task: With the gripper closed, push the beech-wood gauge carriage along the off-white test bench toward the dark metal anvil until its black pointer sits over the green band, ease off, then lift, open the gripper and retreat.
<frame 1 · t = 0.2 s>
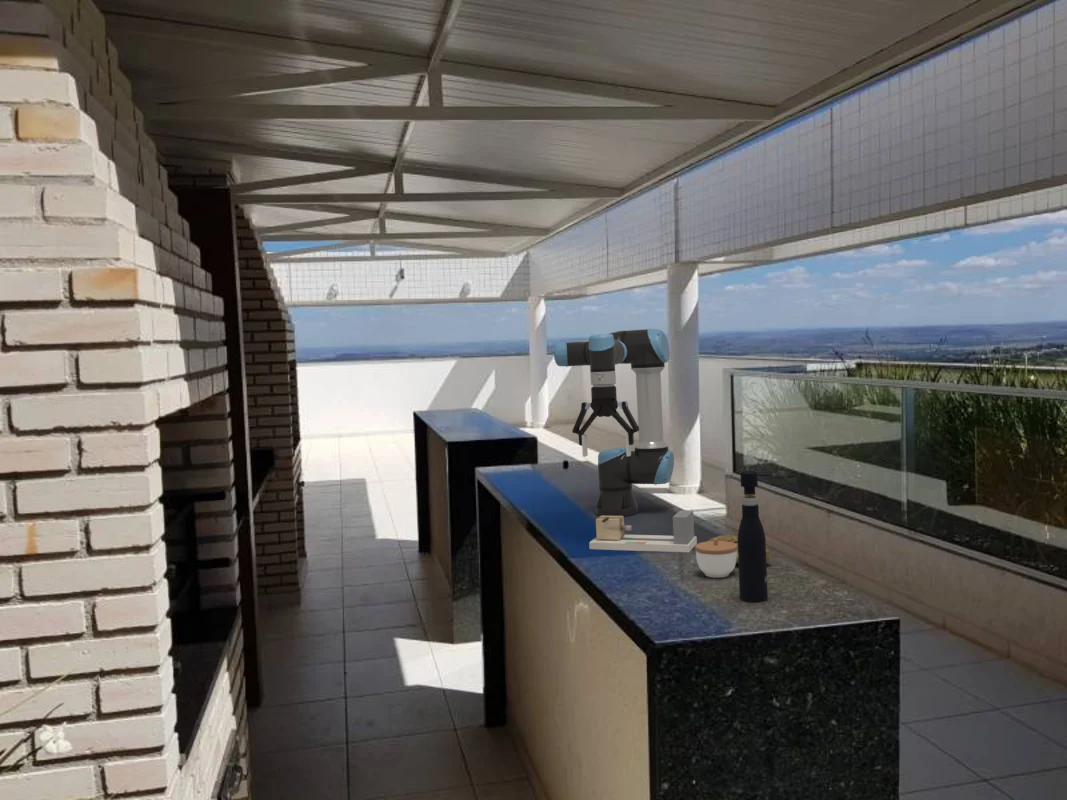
hand: (606, 456, 280), 27 cm above the countertop, fingers open, 13 cm apart
gauge carriage: (613, 528, 279), point 6 cm above the countertop, slide at 0.0 cm
lidded jar: (717, 575, 242), on the countertop
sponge: (737, 561, 255), on the countertop
wine bottle: (753, 599, 219), on the countertop
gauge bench: (643, 546, 278), on the countertop
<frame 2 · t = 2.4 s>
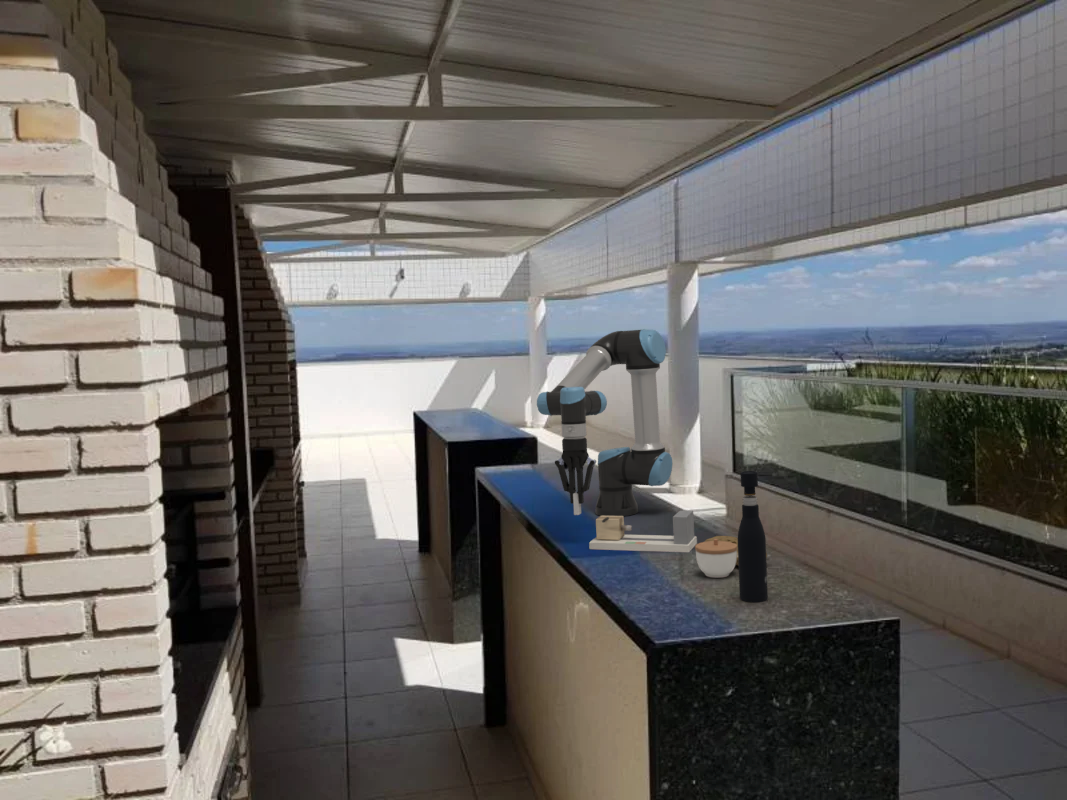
hand: (577, 514, 285), 9 cm above the countertop, fingers closed
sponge: (734, 562, 255), on the countertop
everything else where it was.
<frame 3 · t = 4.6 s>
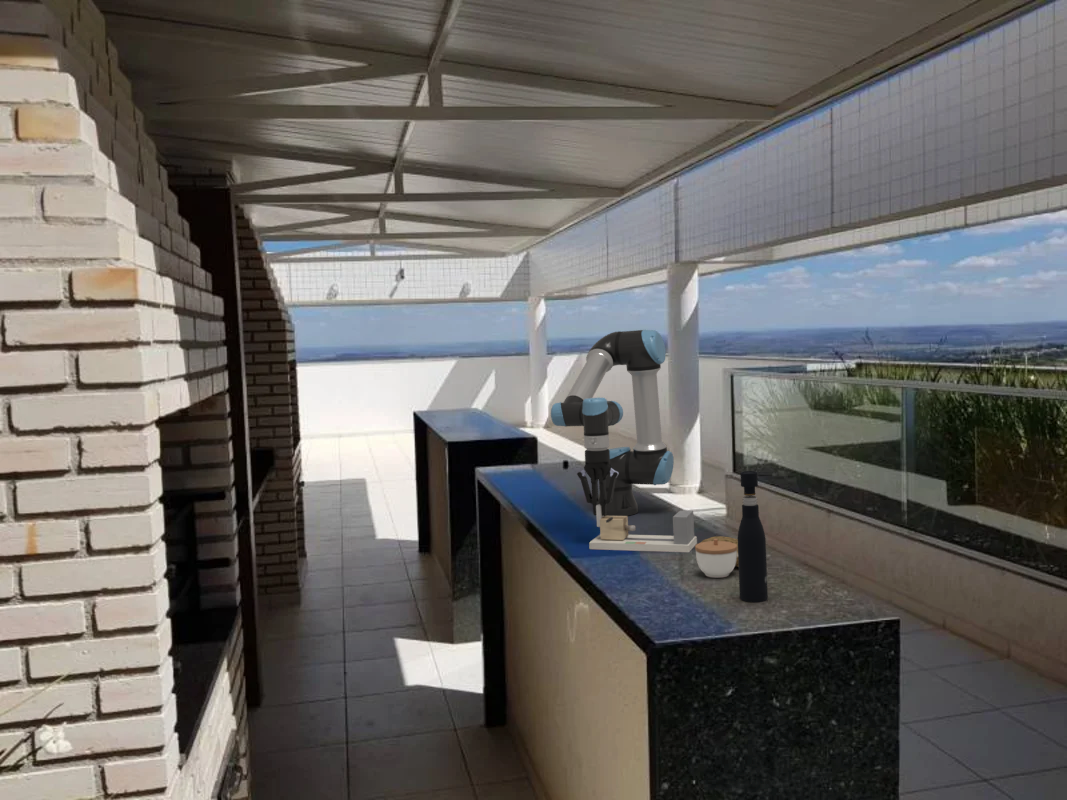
hand: (600, 525, 282), 6 cm above the countertop, fingers closed
gauge carriage: (617, 528, 279), point 6 cm above the countertop, slide at 1.2 cm, touching gripper
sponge: (730, 562, 254), on the countertop
everything else where it was.
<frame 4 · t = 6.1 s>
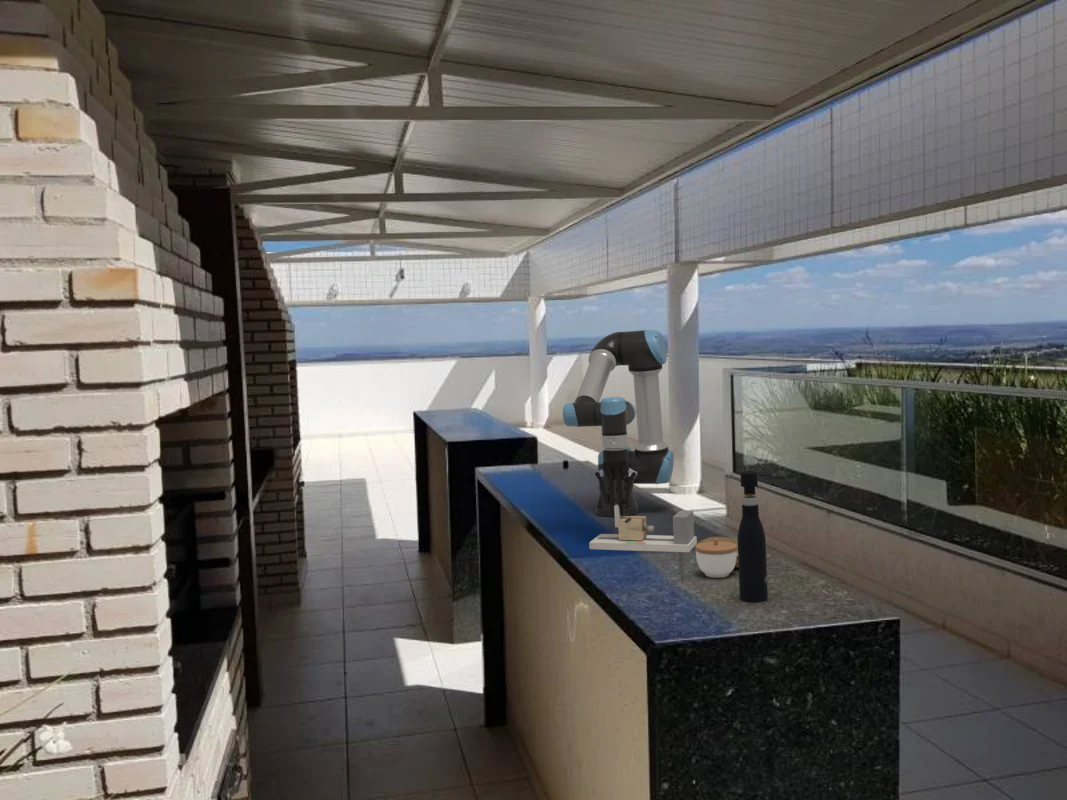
hand: (618, 526, 280), 6 cm above the countertop, fingers closed
gauge carriage: (635, 528, 277), point 6 cm above the countertop, slide at 6.9 cm, touching gripper
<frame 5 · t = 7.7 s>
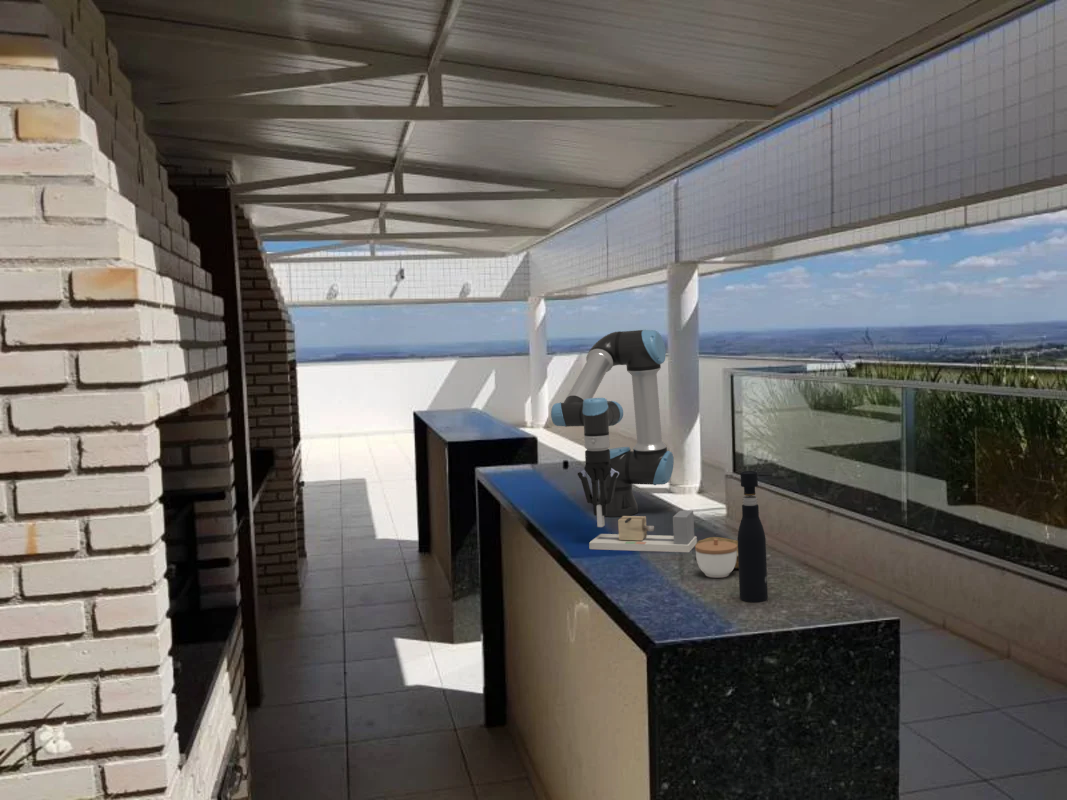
hand: (601, 526, 283), 6 cm above the countertop, fingers closed
gauge carriage: (635, 528, 277), point 6 cm above the countertop, slide at 7.0 cm
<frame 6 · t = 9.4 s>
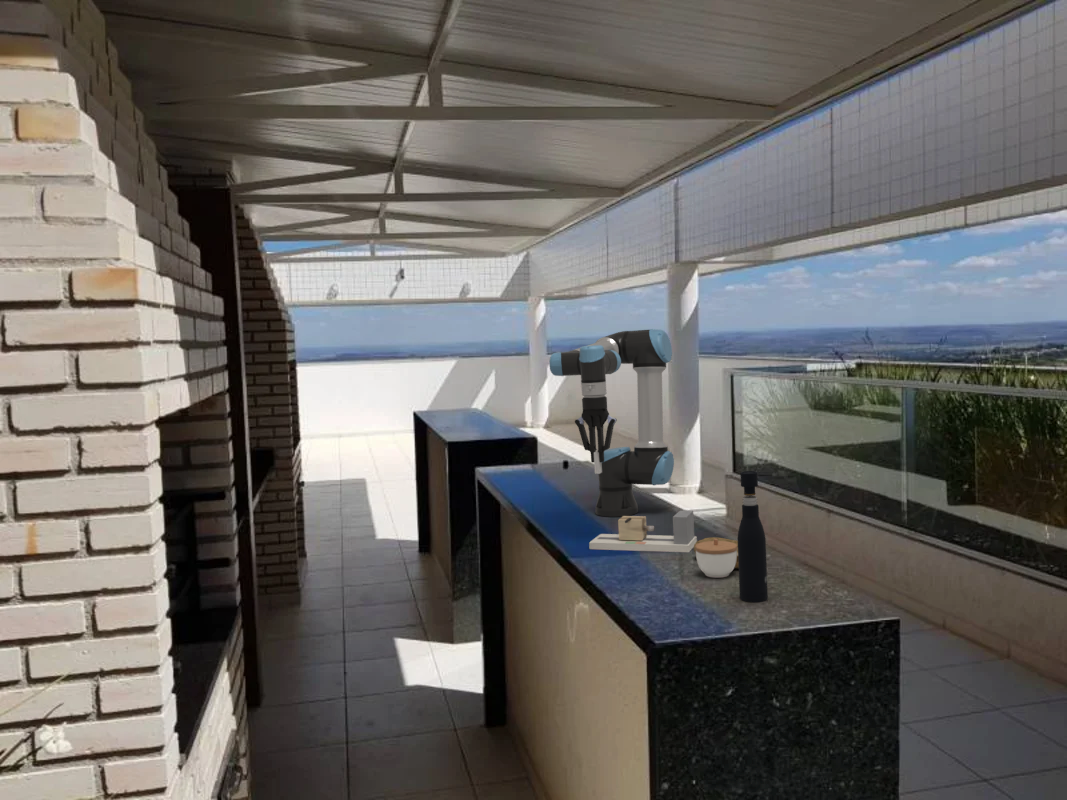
hand: (598, 472, 284), 22 cm above the countertop, fingers closed
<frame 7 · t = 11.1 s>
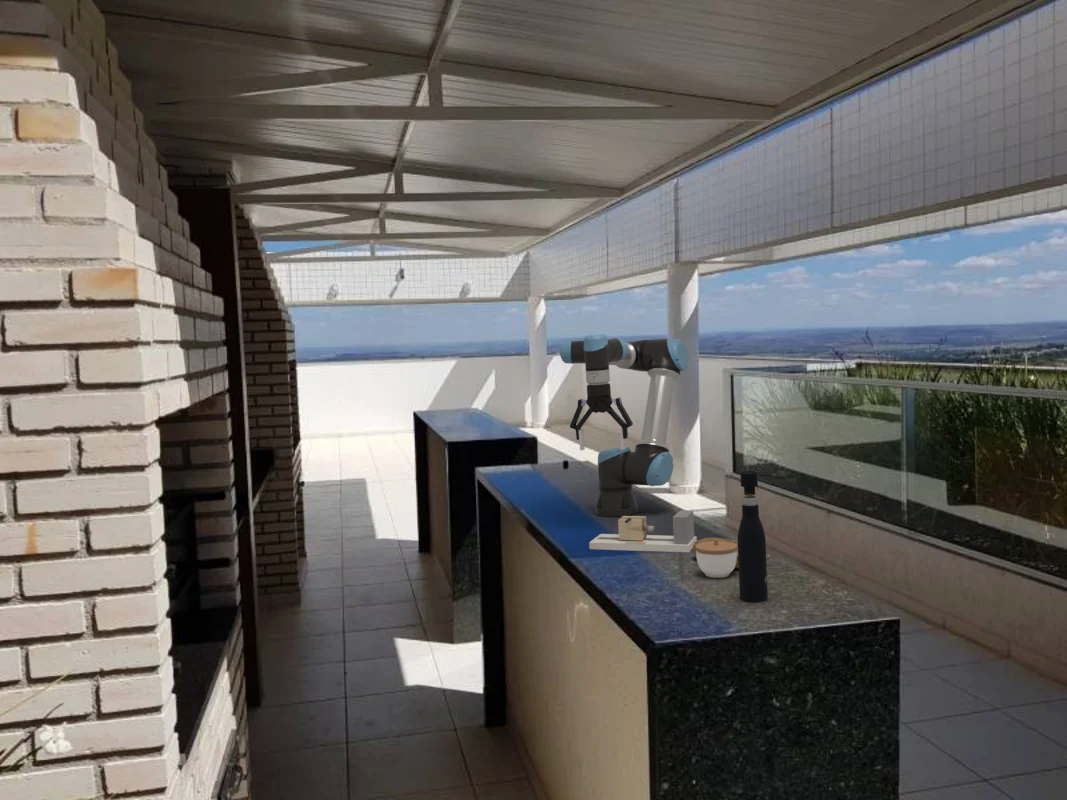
hand: (602, 449, 297), 27 cm above the countertop, fingers open, 13 cm apart
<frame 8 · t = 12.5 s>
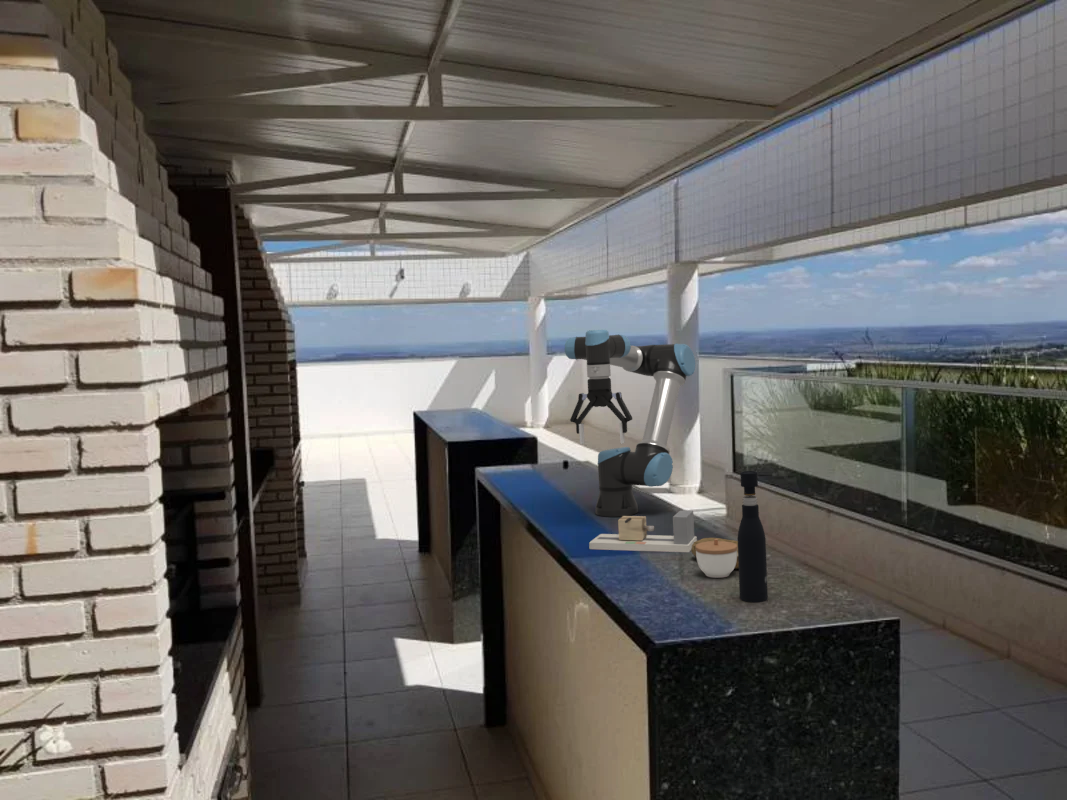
hand: (602, 443, 300), 29 cm above the countertop, fingers open, 13 cm apart
at the end: gauge carriage slide at 7.0 cm; the gripper is holding nothing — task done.
